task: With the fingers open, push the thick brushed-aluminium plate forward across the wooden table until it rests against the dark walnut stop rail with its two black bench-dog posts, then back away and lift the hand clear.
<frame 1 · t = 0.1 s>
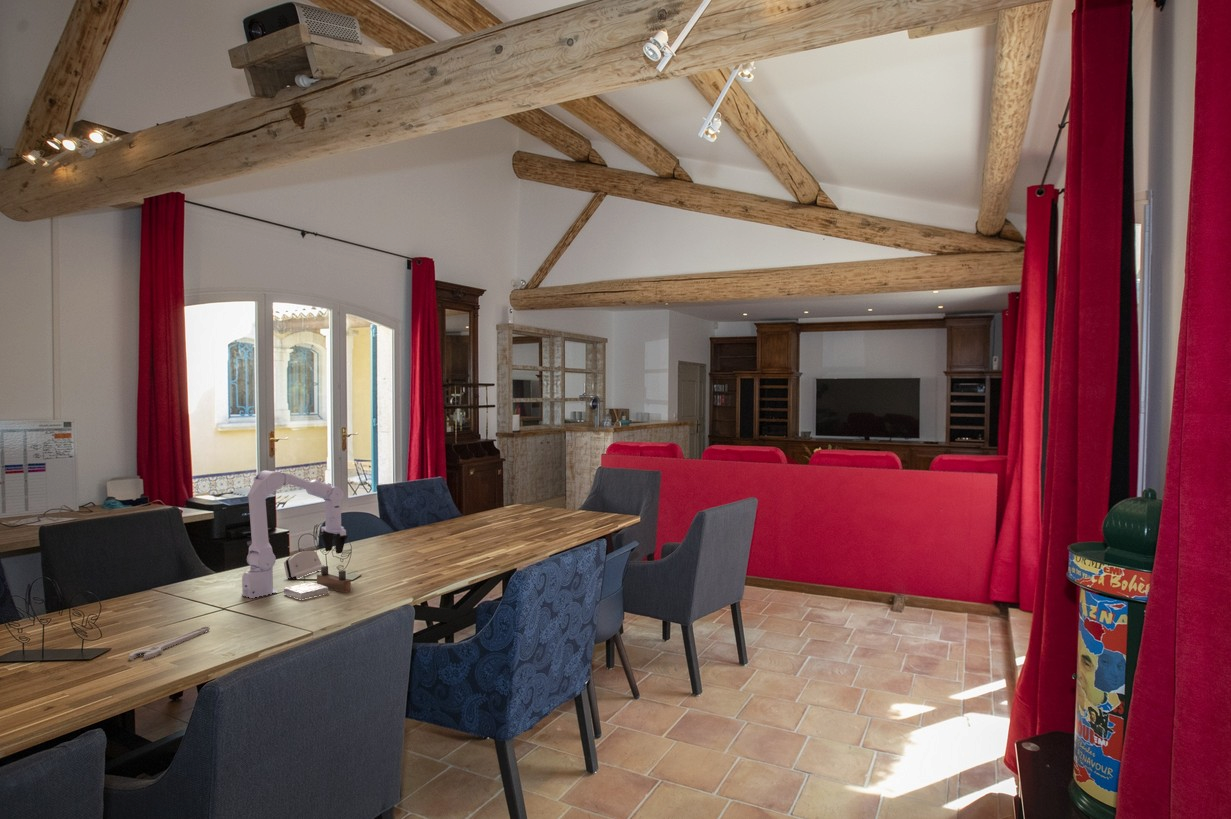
hand: (334, 551, 274), 10 cm above the table, tool pointing down, fingers open, 7 cm apart
adjustable wrench: (174, 646, 201), on the table
stop rail: (333, 587, 259), on the table
plate: (306, 595, 251), on the table
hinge: (304, 574, 281), on the table
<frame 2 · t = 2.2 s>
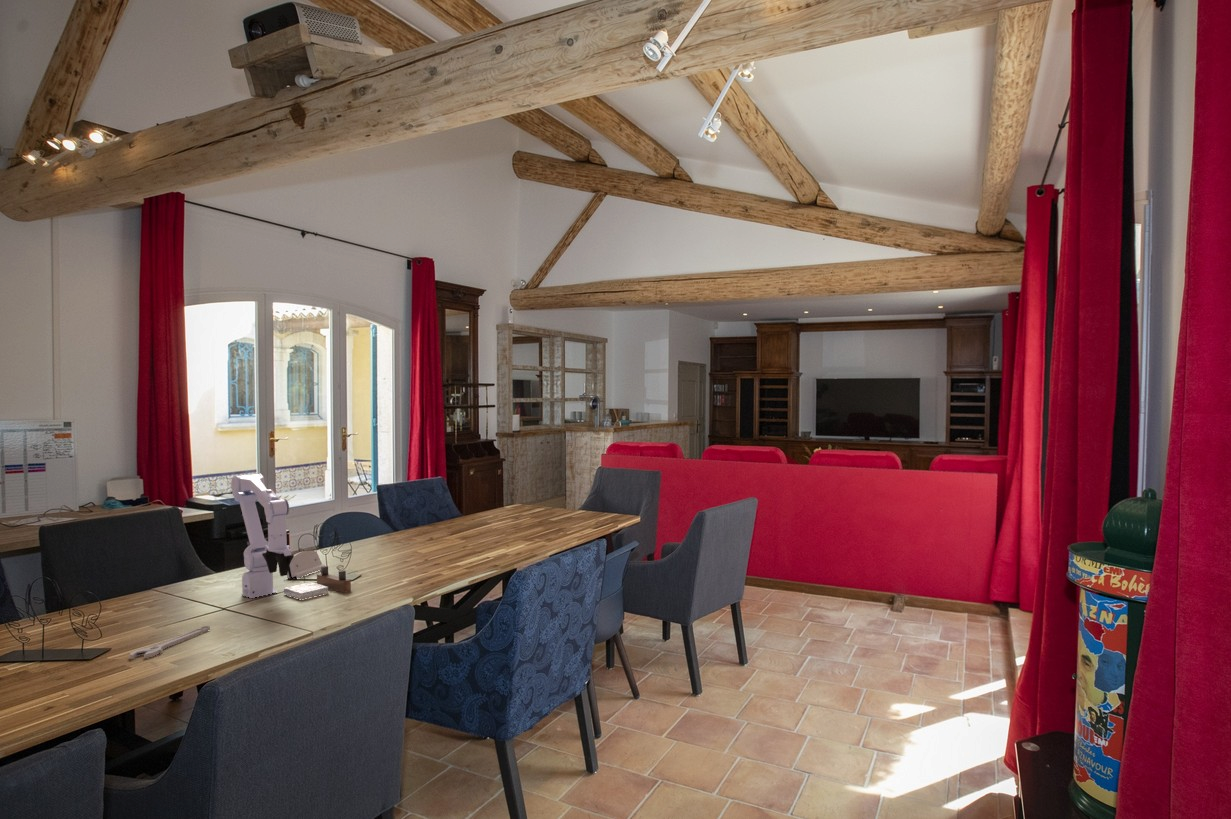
hand: (278, 573, 243), 9 cm above the table, tool pointing down, fingers open, 7 cm apart
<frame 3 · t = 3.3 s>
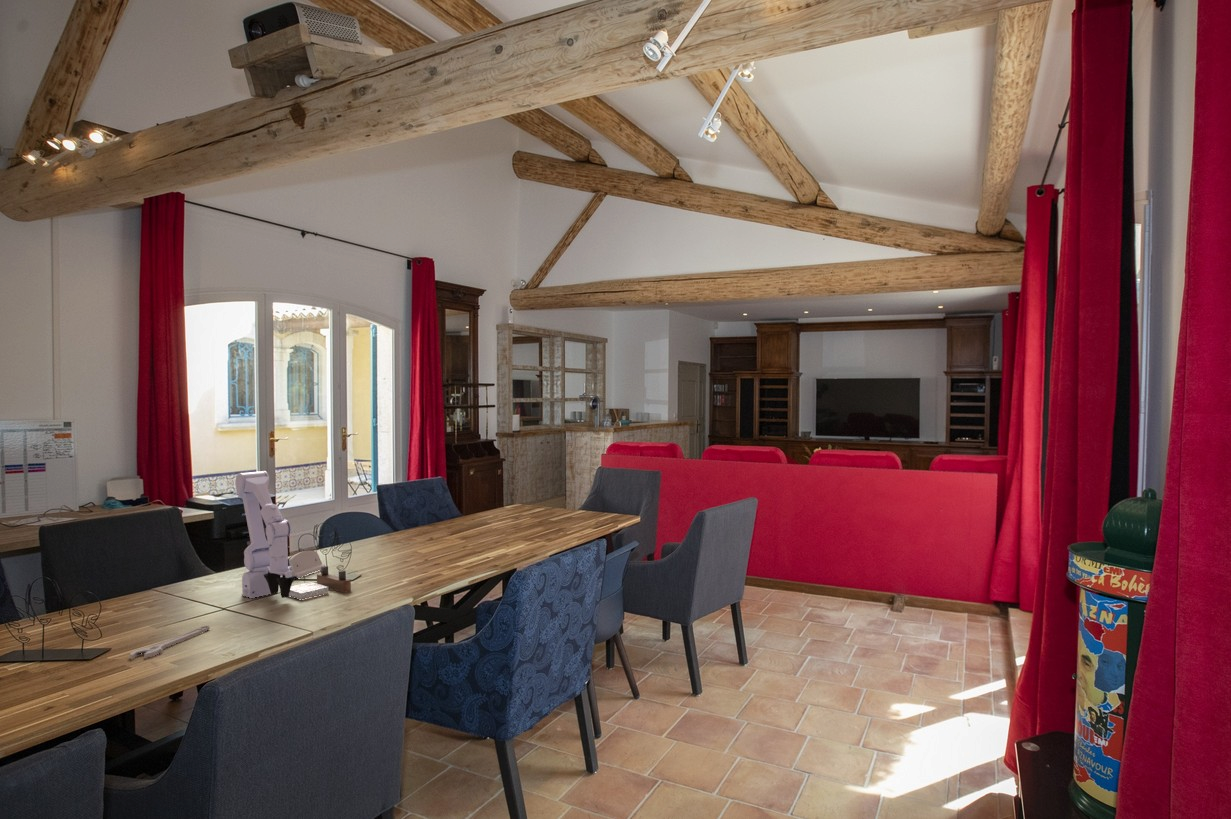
hand: (279, 595, 243), 2 cm above the table, tool pointing down, fingers open, 7 cm apart
nothing on the table moved.
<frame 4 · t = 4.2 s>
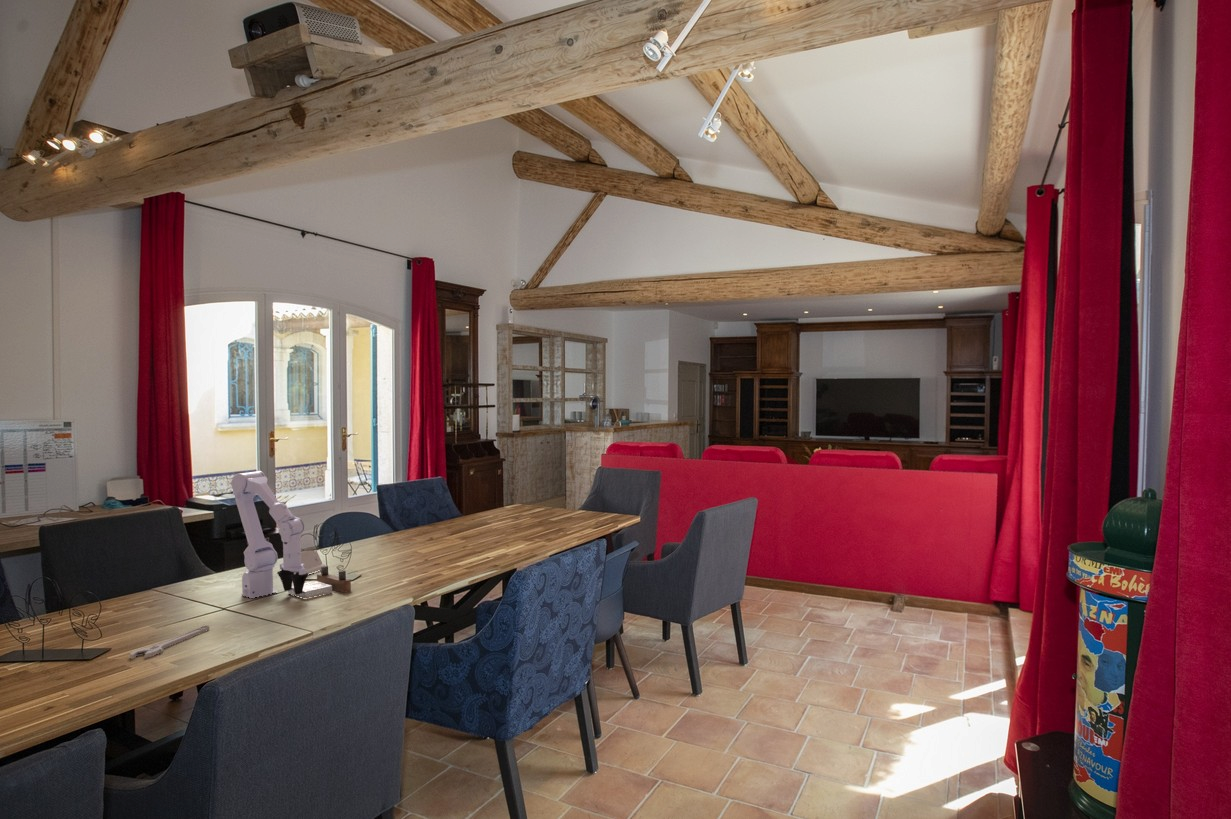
hand: (293, 592, 247), 2 cm above the table, tool pointing down, fingers open, 7 cm apart
plate: (310, 594, 252), on the table
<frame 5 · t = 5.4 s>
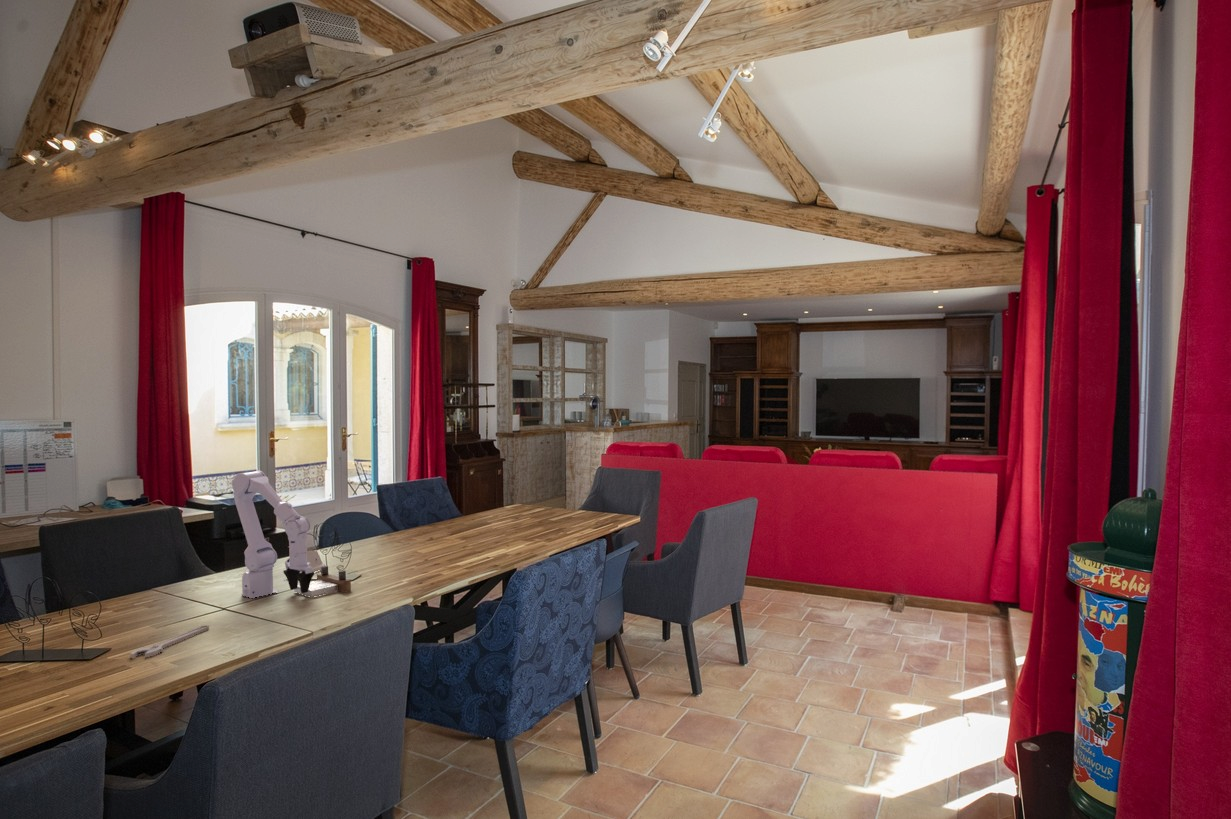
hand: (299, 590, 249), 2 cm above the table, tool pointing down, fingers open, 7 cm apart
plate: (316, 593, 254), on the table
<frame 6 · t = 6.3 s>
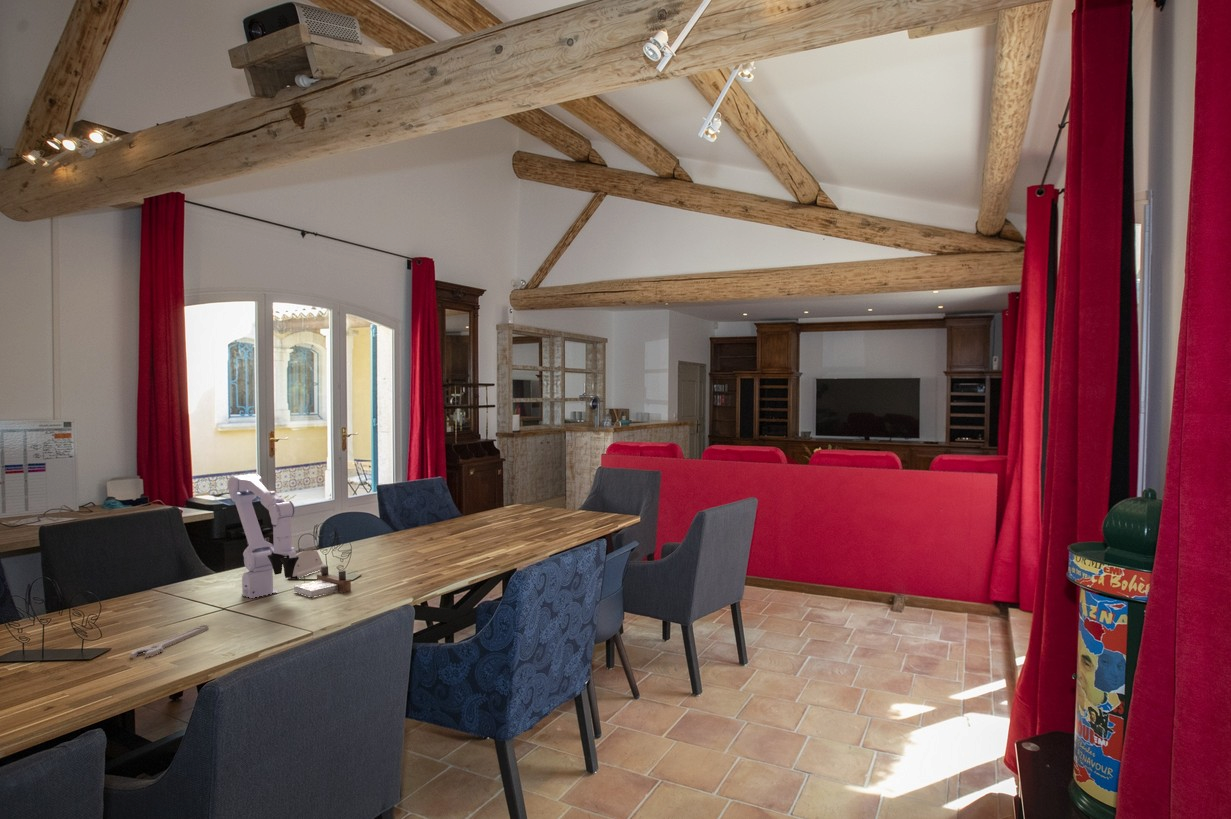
hand: (283, 575, 245), 8 cm above the table, tool pointing down, fingers open, 7 cm apart
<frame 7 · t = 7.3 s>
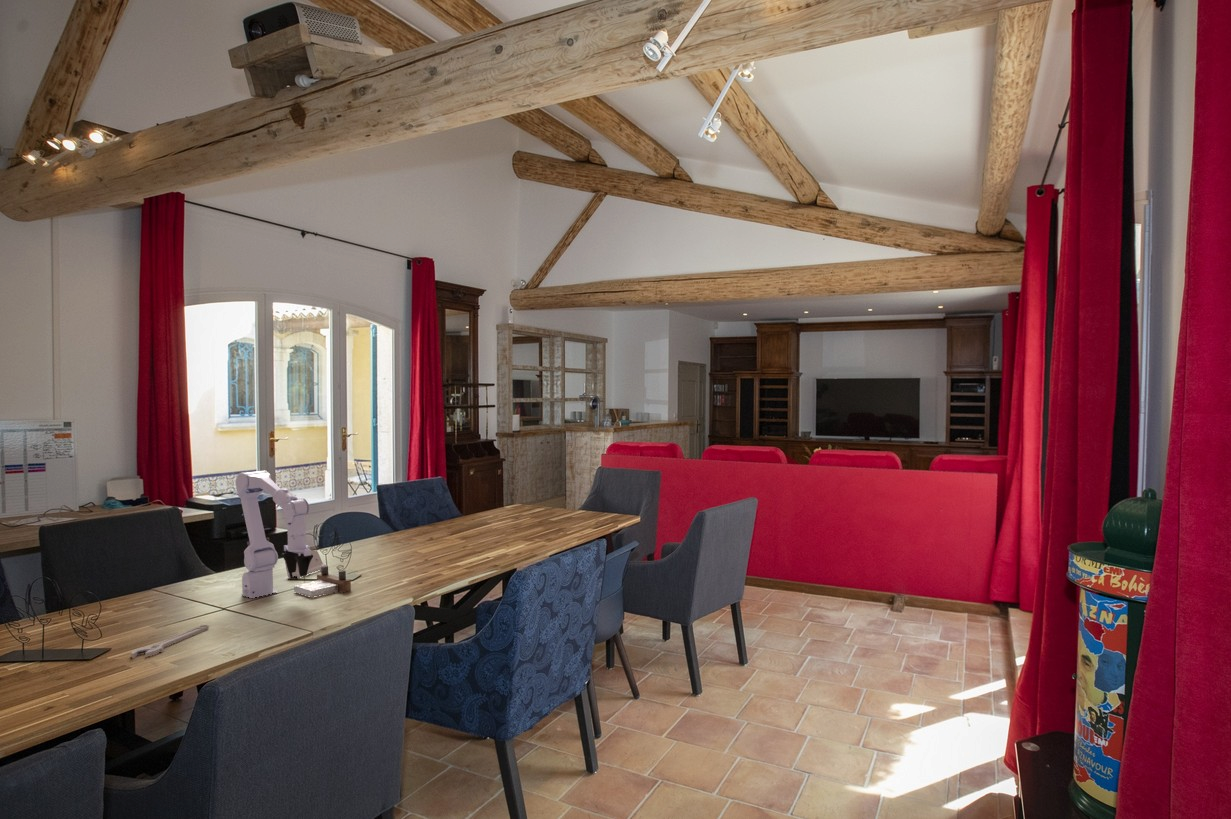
hand: (297, 574, 242), 9 cm above the table, tool pointing down, fingers open, 7 cm apart
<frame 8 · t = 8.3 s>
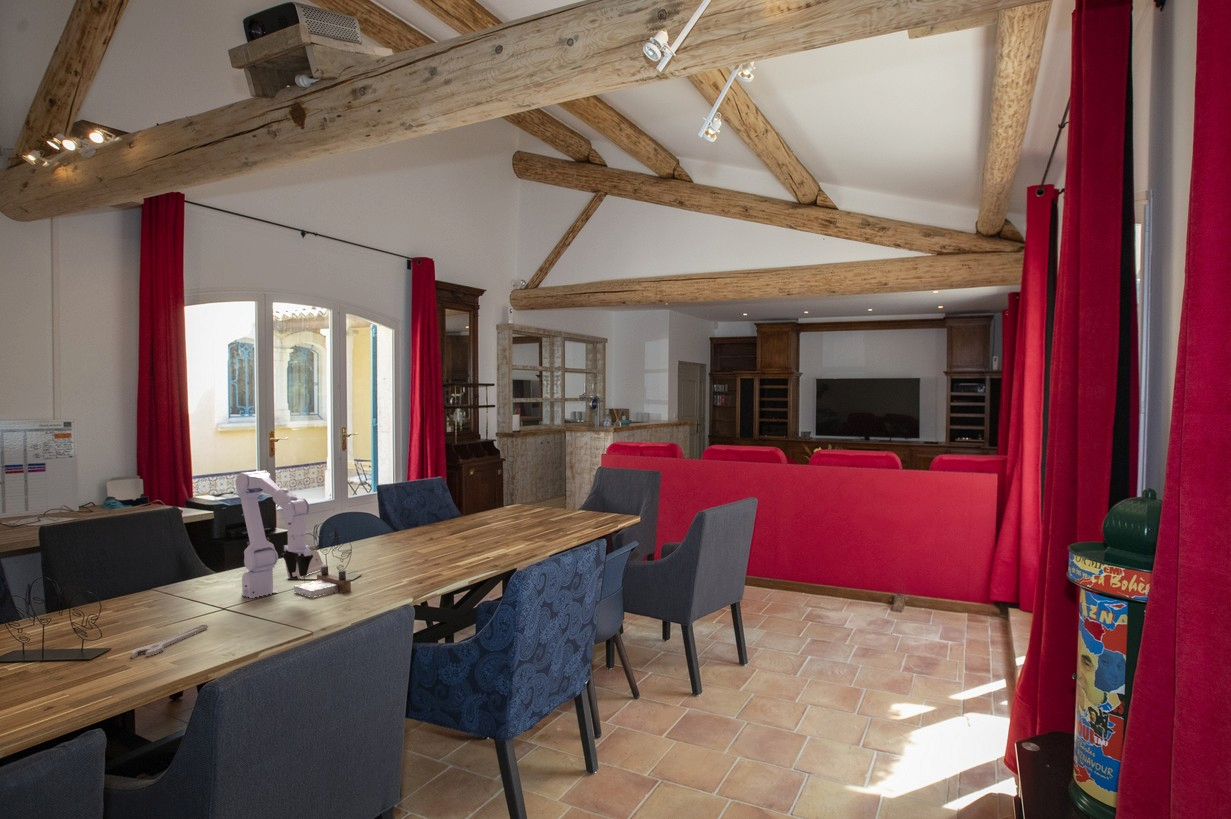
hand: (297, 574, 242), 9 cm above the table, tool pointing down, fingers open, 7 cm apart
at the end: plate 0.3 cm from the target spot, on the table; plate tilted 0°; plate moved 3.7 cm from its start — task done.
